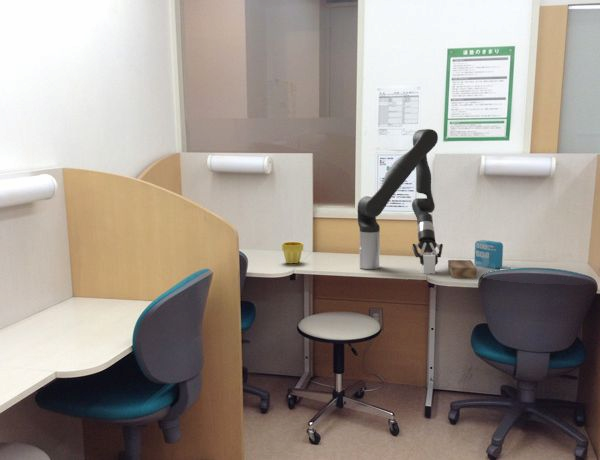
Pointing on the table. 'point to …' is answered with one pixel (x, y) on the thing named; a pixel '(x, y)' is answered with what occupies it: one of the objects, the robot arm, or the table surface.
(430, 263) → the white block
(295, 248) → the plant pot
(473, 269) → the walnut block
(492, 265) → the data package
